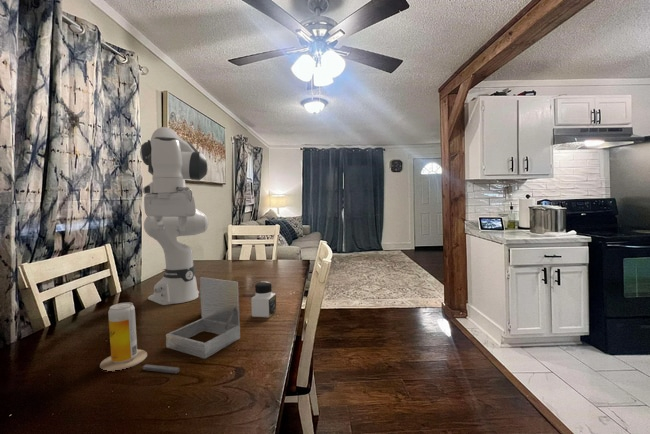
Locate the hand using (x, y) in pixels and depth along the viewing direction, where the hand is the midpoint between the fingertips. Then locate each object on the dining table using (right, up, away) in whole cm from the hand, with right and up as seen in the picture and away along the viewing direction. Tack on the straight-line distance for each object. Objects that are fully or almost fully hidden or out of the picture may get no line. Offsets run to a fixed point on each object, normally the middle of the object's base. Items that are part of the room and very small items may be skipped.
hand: (170, 230), depth 101 cm
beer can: (-5, -35, -15) cm, 38 cm away
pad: (-6, -35, -15) cm, 39 cm away
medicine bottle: (+27, -33, +18) cm, 46 cm away
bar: (+7, -36, -20) cm, 42 cm away
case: (+13, -34, -5) cm, 37 cm away
